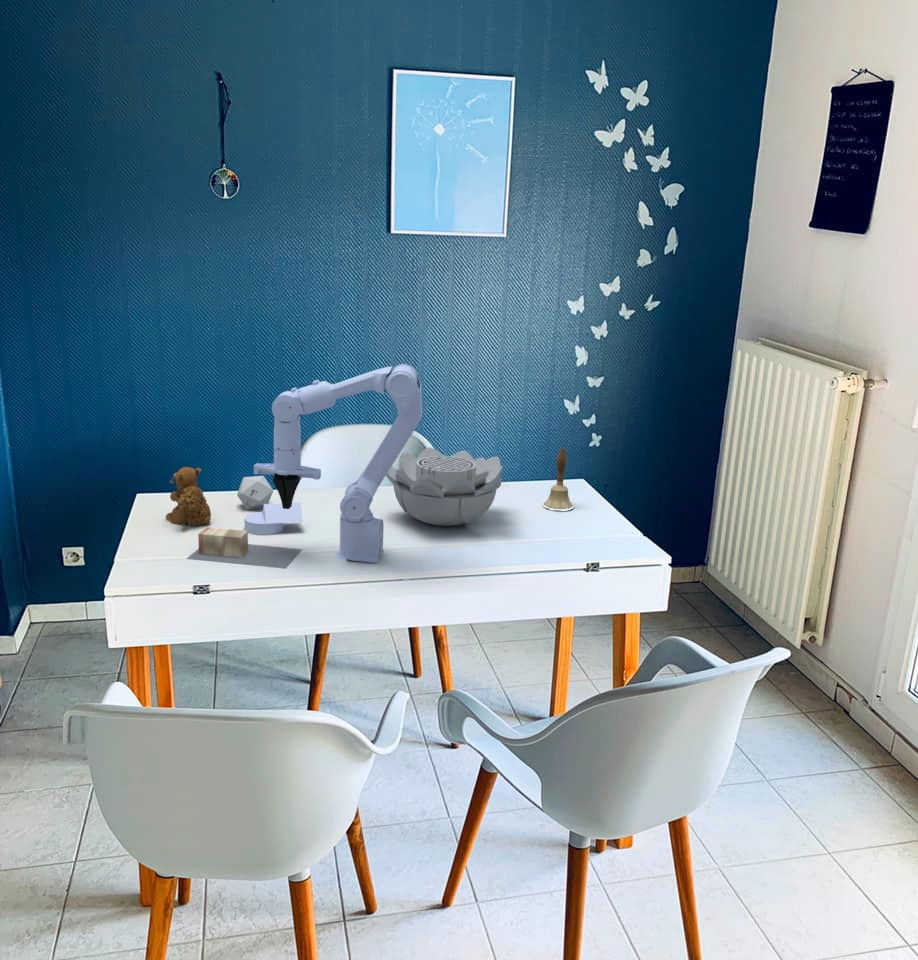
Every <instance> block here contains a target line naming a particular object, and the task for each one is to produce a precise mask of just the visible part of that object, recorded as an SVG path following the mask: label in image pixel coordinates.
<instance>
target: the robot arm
mask: <svg viewBox="0 0 918 960" xmlns="http://www.w3.org/2000/svg"><path fill="white" fill-rule="evenodd" d="M369 391H374V392H376V393H379V394H382V395H385V393H386V392H387V394H388V396H389V397H390V399H392V401H393V402H394V403H395V407H396V411H397V414H398V415H397V416H396V417H397V418H395V420H394V422H393V423H392V425H391V427H390V428H389V430H388V432H387V433H386V434H385V437H384V438H383V439H382V440H381V442H380V444H379V446H378V448H377V449H376V450H375V452H374V453H373V456H372V457H371V458H370V461H368V463H367V465H366V467H365V468H364V470H363V472H361V474H360V475H359V477H358V479H356V481H355V482H353V483H351V484H350V485H349V486H348V487H347V488H346V490H345V491H344V496H343V498H342V499H341V502H340V504H339V510H340V514H339V516H340V517H339V529H340V530H339V550H338V551H337V552H336V554H335V555H334V558H337V559H345V561H354V562H364V563H374V564H375V563H377V562H378V560H379V559H380V557H381V555H382V554H384V553H383V552H384V551H385V550H384V526H385V525H384V520H383V519H381V518H377V517H375V516H374V513H373V512H372V510H371V508H370V506H371V504H372V503H373V500H374V499H373V498H374V497H375V494H376V493H377V490H378V489H379V487H380V485H381V483H382V482H383V481H384V479H385V477H386V474H387V473H388V471H389V469H390V468H391V466H392V467H393V465H394V463H395V461H396V460H397V458H398V457H399V456H400V455H401V452H402V451H403V449H404V447H405V446H406V444H407V442H408V441H409V439H410V438H411V436H412V435H413V433H414V431H415V430H416V429H417V427H418V425H419V423H420V422H421V420H422V417H423V402H422V401H423V399H422V382H421V379H420V378H419V375H418V372H417V371H416V369H415V368H414V367H413V366H412V365H409V364H406V363H401V364H397V365H396V366H394V367H393V366H392V365H391V366H386V367H382V368H378V369H374V370H371V371H368V372H366V373H363V374H360V375H357V376H354V377H351V378H348V379H345V380H343V381H340V382H336V383H333V384H332V383H330V382H328V381H326V380H323V381H320V380H319V379H316V380H314V381H312V384H310V385H307V386H302V387H300V388H297V387H293V388H291V390H287V391H286V390H285V391H283V392H281V393H280V394H278V396H277V397H275V398H274V400H273V402H272V405H271V412H272V415H273V417H274V419H273V420H274V426H273V463H259V462H257V463H255V464H254V465H253V475H259V474H261V475H274V476H273V478H272V483H273V485H274V486H275V488H276V490H277V493H278V495H279V498H280V501H281V502H280V503H282V506H283V509H290V508H291V507H292V503H293V501H294V497H295V493H296V491H297V488H298V486H299V484H300V481H301V480H302V478H307V479H313V480H315V481H316V480H317V481H318V480H320V479H321V478H322V469H321V468H314V467H310V466H304V465H302V464H301V463H302V462H301V461H302V453H301V452H302V445H301V444H302V437H301V436H302V433H301V432H302V426H301V415H303V416H305V415H306V416H307V415H309V414H313V413H316V412H319V411H323V410H327V409H329V408H333V406H334V405H335V404H336V401H337V400H339V399H342V398H346V397H350V396H354V395H357V394H361V393H366V392H369Z"/></svg>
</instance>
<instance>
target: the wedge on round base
mask: <svg viewBox="0 0 918 960" xmlns="http://www.w3.org/2000/svg"><path fill="white" fill-rule="evenodd" d="M243 518H244V531H248V534H251V535H256V536H268V535H270V536H271V535H274V534H279V533H280V532H281V533H282V532H283V530H284V529H285V527H284V526H285V525H284V524H289V523H303V522H304V520H303V511H302V505H301V502H292V507H291V508H290V509H283V506H282V502H280V503H278V502H277V503H268V504H264V506H263V508H262V511H256V512H251V513H249V514H245V516H244V517H243Z"/></svg>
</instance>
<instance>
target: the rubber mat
mask: <svg viewBox="0 0 918 960" xmlns="http://www.w3.org/2000/svg"><path fill="white" fill-rule="evenodd" d="M302 551H303V548H295V547H293V548H292V547H282V546H272V545H261V544H250V543H248V551H247V552H246V553H245V554H244V555H243V556H242V557H232V556H222V555H211V554H201V553H199V548H197V549H196V550H195V551H194V552H193V553H191V554H190V555H189V556H188V557H187V558H186V559H187V560H192V561H193V560H195V561H204V562H205V561H206V562H215V563H222V564H223V563H225V564H235V565H236V564H237V565H244V566H245V565H246V566H255V567H266V568H267V567H268V568H275V569H276V568H278V569H287V568H288V566H290V565H291V563H292V562H293V561H294V560H295V559H296V557H297V556H298V555H299V554H300V553H301V552H302Z"/></svg>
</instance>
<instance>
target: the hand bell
mask: <svg viewBox="0 0 918 960" xmlns="http://www.w3.org/2000/svg"><path fill="white" fill-rule="evenodd" d="M567 459H568V458H567V454H566V449H565V448H560V449H559V452H558V453H557V457H556V468H557V476H556V478H557V479H556V484H555V485H553V486H551V488H550V492H549V493H550V494H549V495H548V498H547V500H545V502H543V504H544V505H545V506H547V507H549V508H553V509H567V508H568V509H569V508H571V507H572V506H574V504H573V503H572V502H571V500H570V497H569V488H568V487H567V486H565V485H564V472H565V469H566V466H567V462H568V461H567ZM572 504H573V505H572Z"/></svg>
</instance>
